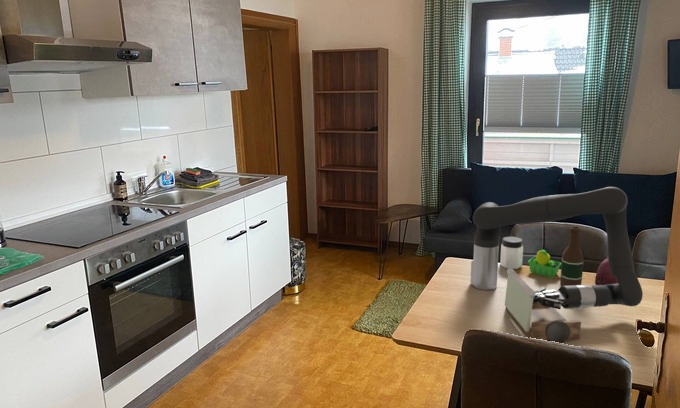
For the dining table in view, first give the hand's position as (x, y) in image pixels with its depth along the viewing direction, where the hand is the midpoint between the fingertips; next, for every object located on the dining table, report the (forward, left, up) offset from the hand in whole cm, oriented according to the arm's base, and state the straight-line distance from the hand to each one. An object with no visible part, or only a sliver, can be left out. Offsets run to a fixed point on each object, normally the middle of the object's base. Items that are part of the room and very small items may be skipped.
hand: (525, 298), depth 166 cm
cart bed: (+3, +5, -9) cm, 11 cm away
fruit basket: (-20, +44, -9) cm, 49 cm away
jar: (-34, +42, -9) cm, 55 cm away
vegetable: (+2, +54, -9) cm, 55 cm away
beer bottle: (-6, +40, -9) cm, 41 cm away
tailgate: (-1, -2, -7) cm, 7 cm away
